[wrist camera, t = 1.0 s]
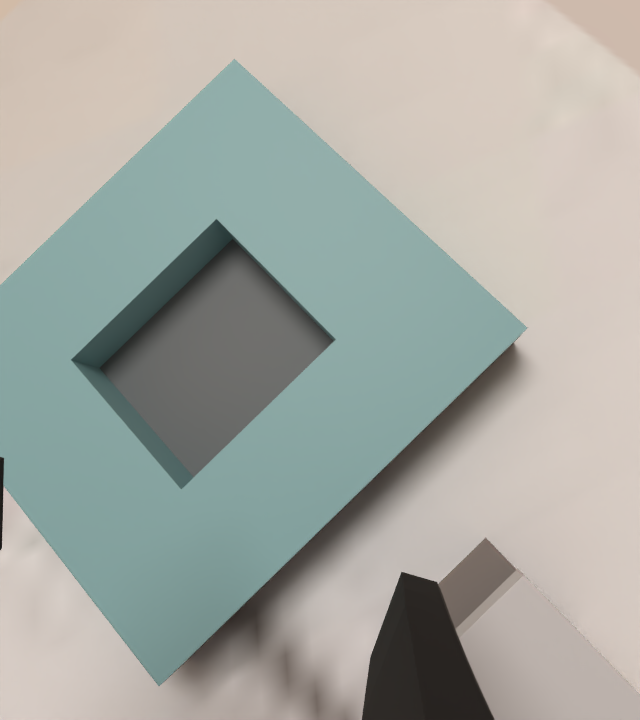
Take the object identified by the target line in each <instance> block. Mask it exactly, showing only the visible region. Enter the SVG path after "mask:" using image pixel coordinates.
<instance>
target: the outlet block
mask: <svg viewBox="0 0 640 720" xmlns="http://www.w3.org/2000/svg"><path fill="white" fill-rule="evenodd" d="M526 329H527V327H526V326H525V325H524V324H523V323H522V322H520V321H519V320H518V319H517V318H516V317H515V316H514V315H513V314H512V313H511V312H510V311H508V310H507V309H506V308H505V307H504V306H503V305H502V304H501V303H500V302H499V301H498V300H496V299H495V298H494V297H493V296H492V295H491V294H490V293H489V292H488V291H487V290H486V289H485V288H483V287H482V286H481V285H480V284H479V283H478V282H477V281H476V280H475V279H474V278H473V277H471V276H470V275H469V274H468V273H467V272H466V271H465V270H464V269H463V268H462V267H461V266H459V265H458V264H457V263H456V262H455V261H454V260H453V259H452V258H451V257H450V256H449V255H447V254H446V253H445V252H444V251H443V250H442V249H441V248H440V247H439V246H438V245H437V244H435V243H434V242H433V241H432V240H431V239H430V238H429V237H428V236H427V235H426V234H425V233H424V232H422V231H421V230H420V229H419V228H418V227H417V226H416V225H415V224H414V223H413V222H412V221H410V220H409V219H408V218H407V217H406V216H405V215H404V214H403V213H402V212H401V211H400V210H398V209H397V208H396V207H395V206H394V205H393V204H392V203H391V202H390V201H389V200H388V199H386V198H385V197H384V196H383V195H382V194H381V193H380V192H379V191H378V190H377V189H376V188H374V187H373V186H372V185H371V184H370V183H369V182H368V181H367V180H366V179H365V178H364V177H363V176H361V175H360V174H359V173H358V172H357V171H356V170H355V169H354V168H353V167H352V166H351V165H349V164H348V163H347V162H346V161H345V160H344V159H343V158H342V157H341V156H340V155H339V154H337V153H336V152H335V151H334V150H333V149H332V148H331V147H330V146H329V145H328V144H327V143H325V142H324V141H323V140H322V139H321V138H320V137H319V136H318V135H317V134H316V133H315V132H313V131H312V130H311V129H310V128H309V127H308V126H307V125H306V124H305V123H304V122H303V121H302V120H300V119H299V118H298V117H297V116H296V115H295V114H294V113H293V112H292V111H291V110H290V109H288V108H287V107H286V106H285V105H284V104H283V103H282V102H281V101H280V100H279V99H278V98H276V97H275V96H274V95H273V94H272V93H271V92H270V91H269V90H268V89H267V88H266V87H264V86H263V85H262V84H261V83H260V82H259V81H258V80H257V79H256V78H255V77H254V76H252V75H251V74H250V73H249V72H248V71H247V70H246V69H245V68H244V67H243V66H242V65H241V64H239V63H238V62H237V61H236V60H235V59H234V60H233V61H232V62H231V63H230V64H229V65H228V66H227V67H226V68H225V69H224V70H222V71H221V72H220V73H219V74H218V75H217V76H216V77H215V78H214V79H213V80H212V81H211V82H210V83H209V84H208V85H207V86H206V87H205V88H204V89H203V90H202V91H201V92H200V93H199V94H198V95H197V96H196V97H195V98H194V99H192V100H191V101H190V102H189V103H188V104H187V105H186V106H185V107H184V108H183V109H182V110H181V111H180V112H179V113H178V114H177V115H176V116H175V117H174V118H173V119H172V120H171V121H170V122H169V123H168V124H167V125H166V126H165V127H164V128H162V129H161V130H160V131H159V132H158V133H157V134H156V135H155V136H154V137H153V138H152V139H151V140H150V141H149V142H148V143H147V144H146V145H145V146H144V147H143V148H142V149H141V150H140V151H139V152H138V153H137V154H136V155H135V156H134V157H132V158H131V159H130V160H129V161H128V162H127V163H126V164H125V165H124V166H123V167H122V168H121V169H120V170H119V171H118V172H117V173H116V174H115V175H114V176H113V177H112V178H111V179H110V180H109V181H108V182H107V183H106V184H105V185H103V186H102V187H101V188H100V189H99V190H98V191H97V192H96V193H95V194H94V195H93V196H92V197H91V198H90V199H89V200H88V201H87V202H86V203H85V204H84V205H83V206H82V207H81V208H80V209H79V210H78V211H77V212H76V213H75V214H73V215H72V216H71V217H70V218H69V219H68V220H67V221H66V222H65V223H64V224H63V225H62V226H61V227H60V228H59V229H58V230H57V231H56V232H55V233H54V234H53V235H52V236H51V237H50V238H49V239H48V240H47V241H46V242H45V243H43V244H42V245H41V246H40V247H39V248H38V249H37V250H36V251H35V252H34V253H33V254H32V255H31V256H30V257H29V258H28V259H27V260H26V261H25V262H24V263H23V264H22V265H21V266H20V267H19V268H18V269H17V270H16V271H15V272H13V273H12V274H11V275H10V276H9V277H8V278H7V279H6V280H5V281H4V282H3V283H2V284H1V285H0V457H3V458H4V483H3V485H4V487H5V488H6V489H7V491H8V492H9V493H10V494H11V496H12V497H13V498H14V500H15V501H16V502H17V504H18V505H19V506H20V507H21V509H22V510H23V511H24V513H25V514H26V515H27V516H28V518H29V519H30V520H31V522H32V523H33V524H34V526H35V527H36V528H37V529H38V531H39V532H40V533H41V535H42V536H43V537H44V538H45V540H46V541H47V542H48V544H49V545H50V546H51V547H52V549H53V550H54V551H55V553H56V554H57V555H58V557H59V558H60V559H61V560H62V562H63V563H64V564H65V566H66V567H67V568H68V569H69V571H70V572H71V573H72V575H73V576H74V577H75V579H76V580H77V581H78V582H79V584H80V585H81V586H82V588H83V589H84V590H85V591H86V593H87V594H88V595H89V597H90V598H91V599H92V600H93V602H94V603H95V604H96V606H97V607H98V608H99V610H100V611H101V612H102V613H103V615H104V616H105V617H106V619H107V620H108V621H109V622H110V624H111V625H112V626H113V628H114V629H115V630H116V632H117V633H118V634H119V635H120V637H121V638H122V639H123V641H124V642H125V643H126V644H127V646H128V647H129V648H130V650H131V651H132V652H133V653H134V655H135V656H136V657H137V659H138V660H139V661H140V663H141V664H142V665H143V666H144V668H145V669H146V670H147V672H148V673H149V674H150V675H151V677H152V678H153V679H154V681H155V682H156V683H157V685H158V686H160V685H161V684H162V683H163V682H164V681H165V680H166V679H167V678H169V677H170V676H171V675H172V674H173V673H174V672H175V671H176V670H177V669H178V668H179V667H180V666H182V665H183V664H184V663H185V662H186V661H187V660H188V659H189V658H190V657H191V656H192V655H193V654H194V653H195V652H196V651H197V650H198V649H199V648H200V647H201V646H202V645H203V644H204V643H205V642H206V641H207V640H209V639H210V638H211V637H212V636H213V635H214V634H215V633H216V632H217V631H218V630H219V629H220V628H221V627H222V626H223V625H224V624H225V623H226V622H227V621H228V620H229V619H230V618H231V617H232V616H233V615H234V614H235V613H236V612H237V611H238V610H239V609H240V608H241V607H242V606H243V605H245V604H246V603H247V602H248V601H249V600H250V599H251V598H252V597H253V596H254V595H255V594H256V593H257V592H258V591H259V590H260V589H261V588H262V587H263V586H264V585H265V584H266V583H267V582H268V581H269V580H270V579H271V578H272V577H273V576H274V575H275V574H276V573H277V572H278V571H279V570H280V569H282V568H283V567H284V566H285V565H286V564H287V563H288V562H289V561H290V560H291V559H292V558H293V557H294V556H295V555H296V554H297V553H298V552H299V551H300V550H301V549H302V548H303V547H304V546H305V545H306V544H307V543H308V542H309V541H310V540H311V539H312V538H313V537H314V536H315V535H316V534H318V533H319V532H320V531H321V530H322V529H323V528H324V527H325V526H326V525H327V524H328V523H329V522H330V521H331V520H332V519H333V518H334V517H335V516H336V515H337V514H338V513H339V512H340V511H341V510H342V509H343V508H344V507H345V506H346V505H347V504H348V503H349V502H350V501H351V500H352V499H353V498H355V497H356V496H357V495H358V494H359V493H360V492H361V491H362V490H363V489H364V488H365V487H366V486H367V485H368V484H369V483H370V482H371V481H372V480H373V479H374V478H375V477H376V476H377V475H378V474H379V473H380V472H381V471H382V470H383V469H384V468H385V467H386V466H387V465H388V464H389V463H391V462H392V461H393V460H394V459H395V458H396V457H397V456H398V455H399V454H400V453H401V452H402V451H403V450H404V449H405V448H406V447H407V446H408V445H409V444H410V443H411V442H412V441H413V440H414V439H415V438H416V437H417V436H418V435H419V434H420V433H421V432H422V431H423V430H424V429H425V428H427V427H428V426H429V425H430V424H431V423H432V422H433V421H434V420H435V419H436V418H437V417H438V416H439V415H440V414H441V413H442V412H443V411H444V410H445V409H446V408H447V407H448V406H449V405H450V404H451V403H452V402H453V401H454V400H455V399H456V398H457V397H458V396H459V395H460V394H461V393H462V392H464V391H465V390H466V389H467V388H468V387H469V386H470V385H471V384H472V383H473V382H474V381H475V380H476V379H477V378H478V377H479V376H480V375H481V374H482V373H483V372H484V371H485V370H486V369H487V368H488V367H489V366H490V365H491V364H492V363H493V362H494V361H495V360H496V359H497V358H498V357H500V356H501V355H502V354H503V353H504V352H505V351H506V350H507V349H508V348H509V347H510V346H511V345H512V344H513V343H514V342H515V341H516V340H517V339H518V338H519V337H520V335H521V334H522V333H523V332H524V331H525V330H526Z"/></svg>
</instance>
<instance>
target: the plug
mask: <svg viewBox="0 0 640 720" xmlns="http://www.w3.org/2000/svg"><path fill="white" fill-rule="evenodd" d="M438 585H439V587H440V589H441V592H442V594H443V597H444V600H445V603H446V606H447V608H448V611H449V614H450V616H451V619H452V622H453V624H454V627H455V629H456V632H457V635H458V637H459V640H460V642H461V645H462V647H463V649H464V652H465V654H466V657H467V659H468V662H469V664H470V666H471V669H472V671H473V673H474V675H475V678H476V680H477V682H478V684H479V687H480V689H481V691H482V693H483V695H484V698H485V700H486V702H487V704H488V706H489V709H490V711H491V713H492V715H493V717H494V719H495V720H640V694H639V693H638V692H637V691H636V690H635V689H634V688H633V687H632V686H631V685H630V684H629V683H628V682H627V681H626V680H625V679H624V678H623V676H622V675H621V674H620V673H619V672H618V671H617V670H616V669H615V668H614V667H613V666H612V665H611V664H610V663H609V662H608V661H607V660H606V659H605V658H604V657H603V656H602V655H601V654H600V653H599V652H598V651H597V650H596V649H595V648H594V647H593V646H592V645H591V644H590V642H589V641H588V640H587V639H586V638H585V637H584V636H583V635H582V634H581V633H580V632H579V631H578V630H577V629H576V628H575V627H574V626H573V625H572V624H571V623H570V622H569V621H568V620H567V619H566V618H565V617H564V616H563V615H562V614H561V613H560V612H559V611H558V609H557V608H556V607H555V606H554V605H553V604H552V603H551V602H550V601H549V600H548V599H547V598H546V597H545V596H544V595H543V594H542V593H541V592H540V591H539V590H538V589H537V588H536V587H535V586H534V585H533V584H532V583H531V582H530V581H529V580H528V579H527V578H526V577H525V575H524V574H523V573H522V572H521V571H520V570H519V569H516V568H515V567H514V566H513V565H512V564H511V563H510V562H509V561H508V560H507V559H506V558H505V557H504V556H503V555H502V554H501V553H500V552H499V551H498V550H497V549H496V548H495V547H494V546H493V545H492V544H491V543H490V542H489V541H488V540H487V539H486V538H485V539H484V540H483V541H482V542H481V543H480V544H479V545H478V546H477V547H476V548H475V549H474V550H473V551H472V552H471V553H470V554H469V555H468V556H467V557H466V558H465V559H464V560H463V561H461V562H460V563H459V564H458V565H457V566H456V567H455V568H454V569H453V570H452V571H451V572H450V573H449V574H448V575H447V576H446V577H445V578H444V579H443V580H442V581H441V582H440V583H439V584H438Z"/></svg>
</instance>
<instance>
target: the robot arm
mask: <svg viewBox="0 0 640 720" xmlns="http://www.w3.org/2000/svg"><path fill="white" fill-rule="evenodd" d="M3 483H4V458H3V457H0V550H1V549H2V521H3ZM362 720H495V719H494V717H493V715H492V713H491V711H490V709H489V706H488V704H487V702H486V700H485V698H484V695H483V693H482V691H481V689H480V687H479V684H478V682H477V680H476V678H475V675H474V673H473V671H472V669H471V666H470V664H469V662H468V659H467V657H466V654H465V652H464V649H463V647H462V645H461V642H460V640H459V637H458V635H457V632H456V629H455V627H454V624H453V622H452V619H451V616H450V614H449V611H448V608H447V606H446V603H445V600H444V597H443V594H442V592H441V589H440V587H439V585H438V584H437V582H435V581H431V580H428V579H424V578H421V577H417V576H414V575H410V574H407V573H403V572H401V575H400V578H399V581H398V583H397V586H396V589H395V592H394V594H393V597H392V600H391V603H390V605H389V608H388V611H387V613H386V616H385V619H384V622H383V624H382V627H381V630H380V633H379V635H378V638H377V641H376V644H375V646H374V649H373V652H372V654H371V658H370V665H369V672H368V679H367V686H366V693H365V701H364V708H363V716H362Z"/></svg>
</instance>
